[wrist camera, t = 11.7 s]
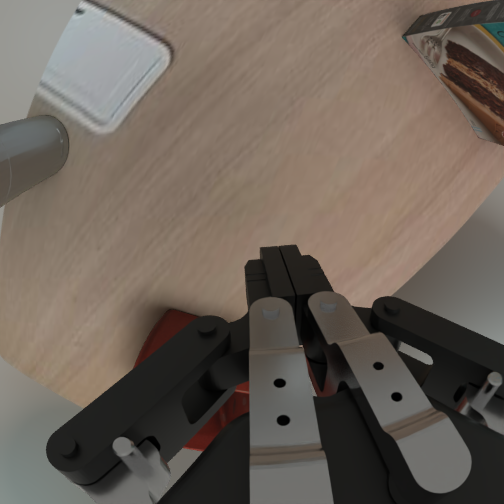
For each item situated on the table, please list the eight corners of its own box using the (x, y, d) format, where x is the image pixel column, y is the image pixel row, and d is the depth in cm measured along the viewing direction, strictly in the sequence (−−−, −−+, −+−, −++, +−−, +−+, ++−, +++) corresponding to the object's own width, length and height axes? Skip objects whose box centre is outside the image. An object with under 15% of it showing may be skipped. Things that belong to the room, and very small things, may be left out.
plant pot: (266, 318, 52) (282, 398, 37) (227, 384, 59) (231, 456, 45) (155, 285, 47) (133, 365, 32) (135, 360, 54) (119, 433, 40)
